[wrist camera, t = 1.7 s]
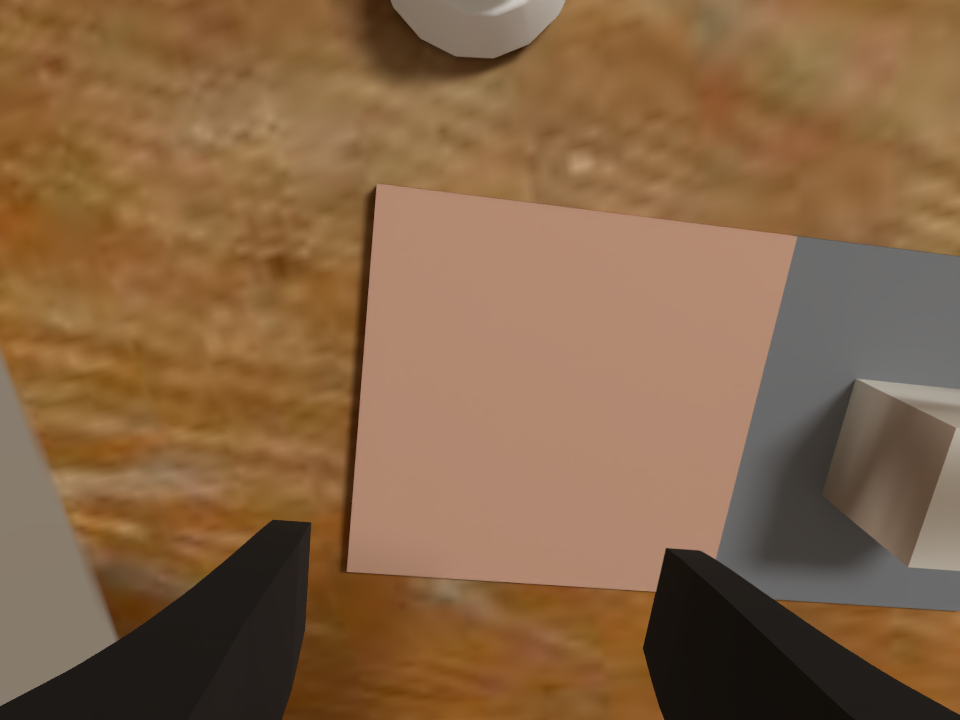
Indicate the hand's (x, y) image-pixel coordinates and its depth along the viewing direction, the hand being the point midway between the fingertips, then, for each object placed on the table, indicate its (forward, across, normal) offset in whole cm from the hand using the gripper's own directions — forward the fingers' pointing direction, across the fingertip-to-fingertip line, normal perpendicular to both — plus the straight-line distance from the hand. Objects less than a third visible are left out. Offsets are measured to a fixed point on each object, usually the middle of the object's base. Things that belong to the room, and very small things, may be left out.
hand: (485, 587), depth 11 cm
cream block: (+9, -14, 0) cm, 17 cm away
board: (+9, -9, 0) cm, 13 cm away
